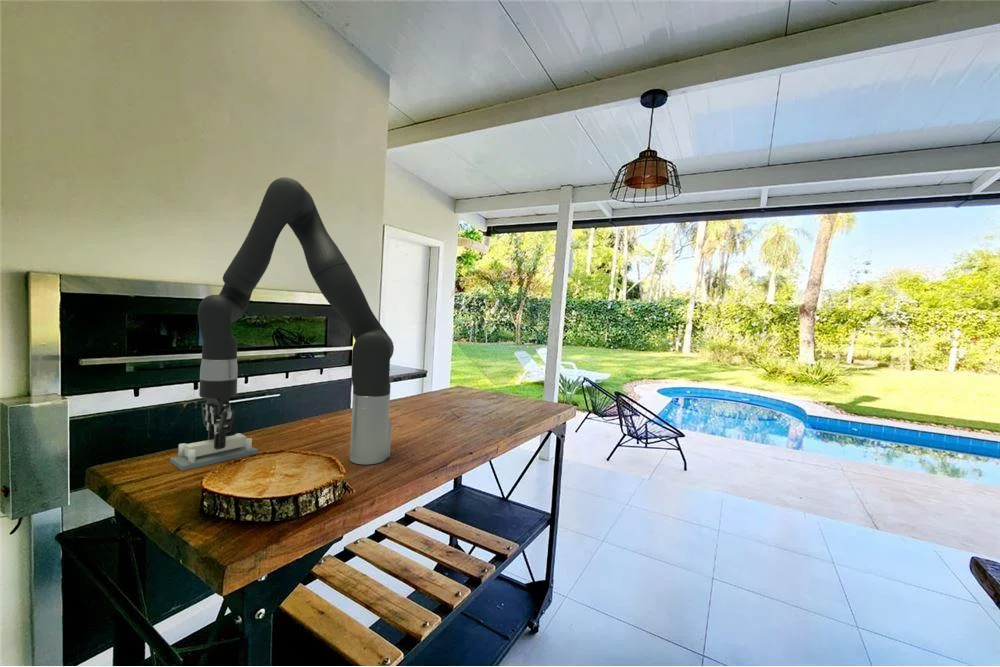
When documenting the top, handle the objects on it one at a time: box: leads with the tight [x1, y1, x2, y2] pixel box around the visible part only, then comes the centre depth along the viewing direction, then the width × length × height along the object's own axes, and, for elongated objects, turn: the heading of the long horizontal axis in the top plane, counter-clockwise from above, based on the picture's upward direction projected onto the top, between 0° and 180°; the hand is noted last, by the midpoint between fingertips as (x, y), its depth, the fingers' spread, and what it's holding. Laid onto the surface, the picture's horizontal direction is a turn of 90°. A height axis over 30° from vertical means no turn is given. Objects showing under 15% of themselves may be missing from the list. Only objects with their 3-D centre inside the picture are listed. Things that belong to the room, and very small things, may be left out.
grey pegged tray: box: [169, 432, 259, 472], centre depth 99 cm, size 16×8×4 cm, turn 146°
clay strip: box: [185, 433, 247, 457], centre depth 99 cm, size 12×3×2 cm, turn 146°
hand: (216, 446), depth 99 cm, fingers closed on clay strip, 3 cm apart
